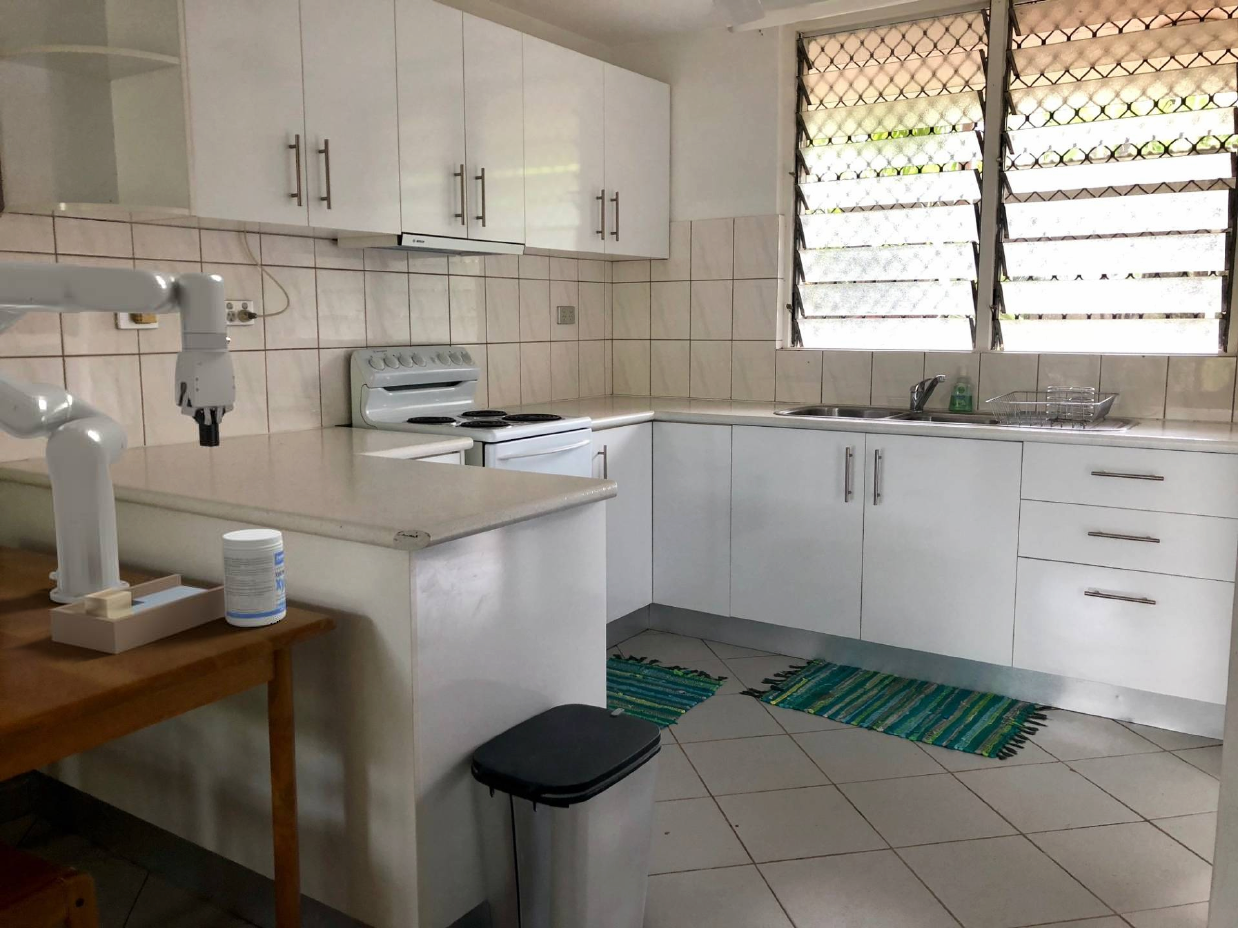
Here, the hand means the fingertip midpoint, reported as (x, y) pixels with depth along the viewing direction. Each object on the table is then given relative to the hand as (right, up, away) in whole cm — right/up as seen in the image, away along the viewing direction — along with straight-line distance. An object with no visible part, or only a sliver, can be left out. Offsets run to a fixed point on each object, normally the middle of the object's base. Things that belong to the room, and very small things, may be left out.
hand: (209, 445), depth 174 cm
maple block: (-5, -28, -24) cm, 37 cm away
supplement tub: (+13, -30, -12) cm, 35 cm away
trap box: (-3, -30, -16) cm, 34 cm away
